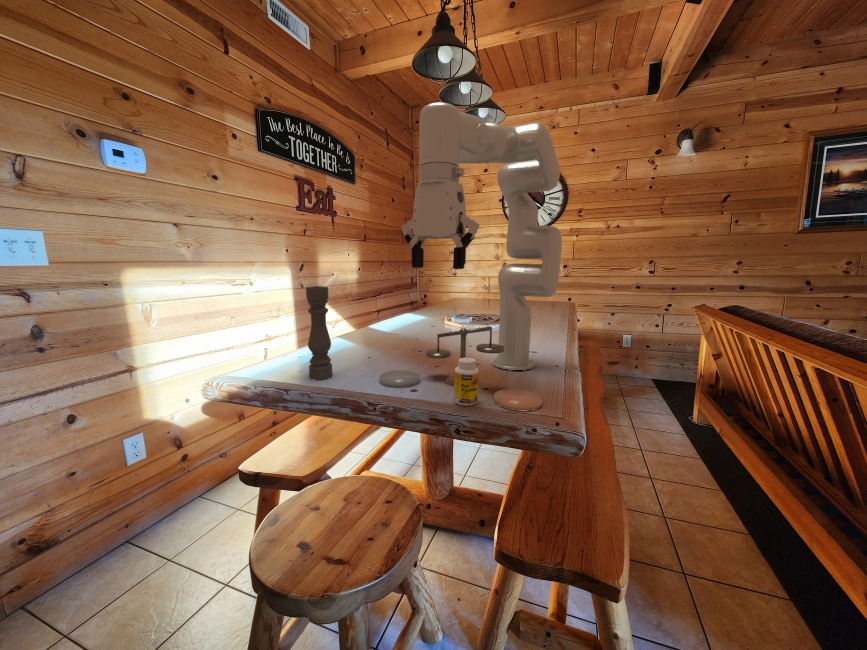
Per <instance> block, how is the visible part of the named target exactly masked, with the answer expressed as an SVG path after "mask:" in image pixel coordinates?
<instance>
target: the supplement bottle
mask: <svg viewBox="0 0 867 650" xmlns="http://www.w3.org/2000/svg"><path fill="white" fill-rule="evenodd" d="M476 362H477V361H476V359H475V358H472V357H465V358H460V357H459V358H458V362H457V365H458V366H456V367H455V369H454V375H455V377H454V386H453V402H455V403H456V404H458V405H460V406H463V407H464V406H465V407H469V406H474V405H475V404H477V403H478V400H479V399H478V398H479V397H478V396H479V383H478V378H479V373H480V372H479V370H480V369H479V368H478V367H476V366H477V364H476Z"/></svg>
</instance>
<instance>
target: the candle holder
mask: <svg viewBox="0 0 867 650" xmlns="http://www.w3.org/2000/svg"><path fill="white" fill-rule="evenodd" d="M305 293H306V294H305V295H306V299H305V300H307V303H308V304H309V308H308V309H307V312H308V313H309V315H310V321H311V322H310V323H311V324H310V325H311V326H310V331H309V337H308V341H307V347H308V350H309V351H310V352H311V355H312V357H311V358H310V359H309V365H308V373H309V375H308V377H310V378H311V379H310V378H309V379H310V380H312V379H315V380H314V381H324V379H326V380H329V379H331V378H333V364H332V363H331V361H332V358H331V357H330V356H329V351H330V349H331V347H332V340H331V338H330V334H329V331H328V327H327V320H326V319H327V318H326V317H327V316H326V315H327V313H328V312H329V309H328V307H327V306H326V305H327V303H328V300H329V286H323V285H322V286H317V285H316V286H314V285H313V286H306V287H305ZM328 378H329V379H328Z"/></svg>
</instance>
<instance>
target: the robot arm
mask: <svg viewBox="0 0 867 650" xmlns="http://www.w3.org/2000/svg"><path fill="white" fill-rule="evenodd" d="M418 162H419V164H418V165H419V168H418V169H419V176H418V180H419V182H418V183H419V184H418V185H416V189H415V194H414V201H413V209H412V218H411V219H410V220H409V221H407V222H406V223H405V224H403V225H401V232H402V234H403V236H404V240H405V241H406V242H407V243H408V247H409V248H410V249H411V267H412V268H413V269H417V268H418V269H419V268H421V269H422V268H424V258H425V257H424V248H423V247H422V246H423V245H424V243H425V242H426V240H427V239H430V240H431V239H432V240H438V239H439V240H442V239H444V240H447V239H448V240H449V239H451V240H452V242H453V243H454V245H456V246H455V247H453V256H452V257H453V259H452V260H453V261H452V263H453V264H452V265H453V266H452V268H453V269H454V270H464V269H465V265H466V262H467V261H466V257H467V256H466V254H467V248H468V247H469V246H470V245H471V243H472V242H473V240H475V237H476V235H477V232H478V230H479V228H480V223H479V222H477V221H475V220H474V219H472V218H470V217H468V216H467V208H466V207H467V206H466V199H465V197H466V196H465V192H464V185H463V183H461V182H460V177H463V176H464V175H465V169H464V168H463V167H461V166H460V164H472V165H473V164H476V165H477V164H503V165H502V166H500V168H499V169H498V170H497V174H496V175H497V178H496V179H497V180H496V181H497V185H498V187H499V190H500V191H501V194H502V196H503V198H504V199H505V200H504V201H505V203H506V204H507V208H508V221H507V233H506V247H505V249H506V254H507V256H508V257H510V258H512V259H516V260H541V263H509V264H506V265H504V266H502V267H501V268H500V270H499V272H498V276H497V280H498V281H497V283H498V291H499V324H498V343H497V344H498V345H502V346H504V352H502V353H497V357H495V358H494V359H492V365H493V366H494V367H496V368H498V367H499V369H501V368H502V369H501V370H505V369H507V370H506V371H512V370H523V371H528V370H527V369H529V370H531V368H532V367H533V368H534V366H535V363H534V362H533V361H532V360H530V352H531V350H530V348H531V347H530V345H531V328H532V326H531V325H532V308H531V305H530V303H529V302H528V300H527V297H533V298H535V297H536V298H537V297H538V298H550V297H553V296H554V295H555V294H556V292H557V291H558V286H559V279H560V268H561V259H562V248H563V240H562V238H563V237H562V233H561V231H560V229H559V228H558V227H556V226H554V225H553V226H552V225H538V220H539V219H538V217H539V208H538V206H537V204H536V202H535V200H533V198H532V197H531V196H530V195H529V193H536V192H537V193H538V192H539V193H540V192H548V191H551V190H553V189H555V187H557V186H558V184H559V180H560V176H561V173H560V172H561V171H560V164H559V161H558V158H557V153H556V150H555V147H554V143H553V139H552V137H551V134H550V132H549V129H548V128H547V127H546V126H545V124H544V123H542V122H540V121H537V122H536V121H535V122H531V123H524V124H519V125H513V126H508V125H504V124H503V125H502V124H500V123H496V122H484V121H483V120H482V119H481V118H480V117H479V116H477V115H473V114H470V113H466V112H463V111H460V110H459V109H458V107H456V105H453V104H451V103H450V102H449V103H448V102H443V101H442V102H431V103H428V104H426V105H425V106H424V107H422V109H421V111H420V114H419V161H418ZM460 167H461V168H460ZM459 182H460V183H459ZM467 227H468V229H467ZM412 233H413V234H412ZM533 368H532V369H533Z"/></svg>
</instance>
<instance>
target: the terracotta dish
mask: <svg viewBox="0 0 867 650" xmlns="http://www.w3.org/2000/svg"><path fill="white" fill-rule="evenodd" d="M493 402H494V404H495V403H496V404H498V405H500V406H502V407H505V408H508V409H514V410H532V409H536V408H539V407H540V406H541V405H542V406H543V398H542V397H541V396H540V395H539V394H538V393H535V392H532V391H530V390H527V389H522V388H521V389H520V388H504V389H501V390H500V389H499V390H498V391H495V393H494V394H493ZM496 404H495V405H496ZM498 405H497V406H498ZM500 406H499V407H500ZM542 406H541V407H542ZM502 407H501V408H502ZM541 407H540V408H541ZM540 408H539V409H540ZM508 409H507V410H508Z"/></svg>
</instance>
